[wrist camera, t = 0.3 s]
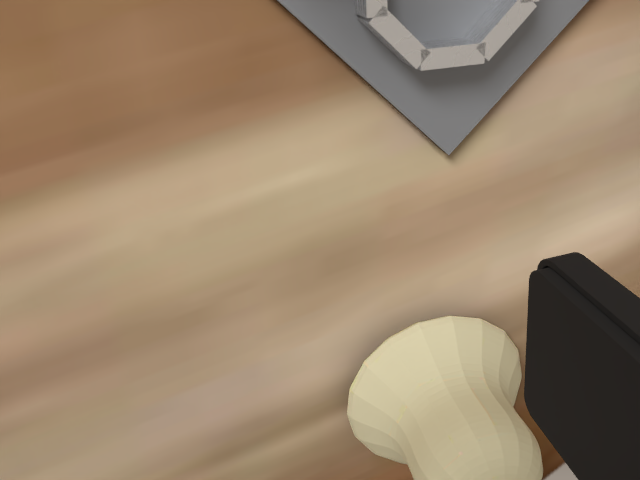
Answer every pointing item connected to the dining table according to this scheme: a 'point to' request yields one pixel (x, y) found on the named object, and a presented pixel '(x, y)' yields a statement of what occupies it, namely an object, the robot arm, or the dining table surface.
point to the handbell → (446, 403)
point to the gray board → (437, 84)
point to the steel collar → (471, 49)
